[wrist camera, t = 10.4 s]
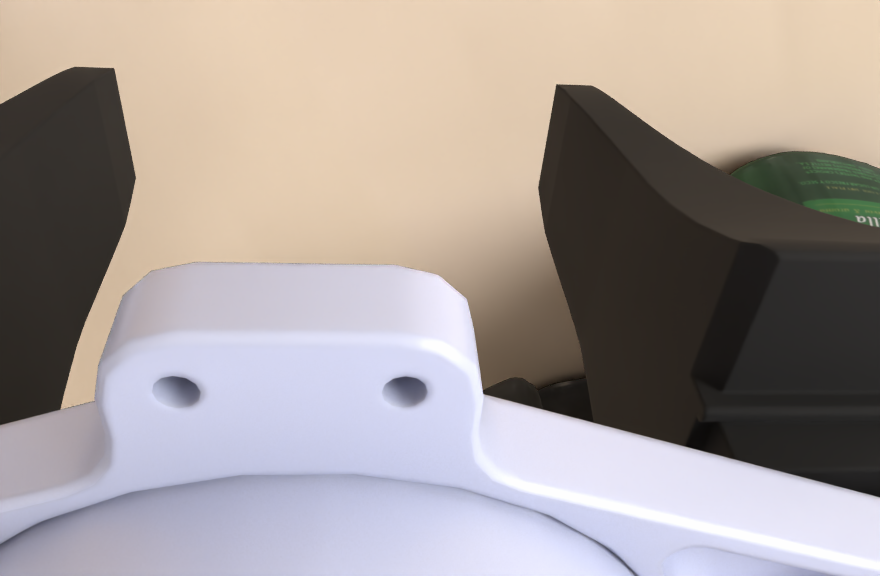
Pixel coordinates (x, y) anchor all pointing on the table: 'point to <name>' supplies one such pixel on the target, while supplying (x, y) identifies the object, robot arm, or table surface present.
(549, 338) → the table surface
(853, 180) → the coffee jar
